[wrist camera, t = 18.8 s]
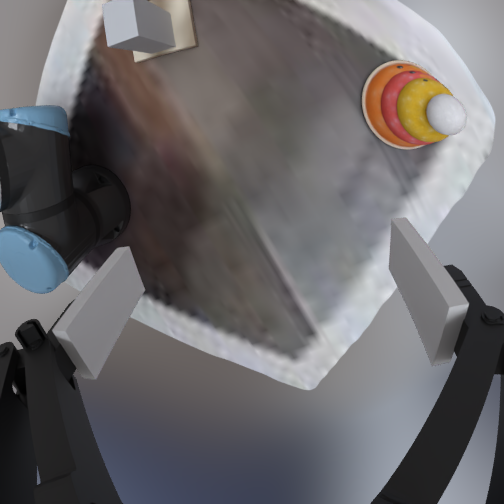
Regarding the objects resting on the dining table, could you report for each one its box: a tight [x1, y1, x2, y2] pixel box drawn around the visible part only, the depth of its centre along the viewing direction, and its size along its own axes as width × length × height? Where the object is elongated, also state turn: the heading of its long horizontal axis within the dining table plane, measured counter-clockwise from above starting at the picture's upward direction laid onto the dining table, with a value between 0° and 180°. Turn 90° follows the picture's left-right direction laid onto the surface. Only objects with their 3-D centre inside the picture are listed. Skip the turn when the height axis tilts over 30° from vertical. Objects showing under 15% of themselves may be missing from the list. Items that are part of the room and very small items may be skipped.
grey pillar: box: [102, 0, 176, 54], centre depth 33 cm, size 4×6×14 cm, turn 9°
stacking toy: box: [362, 60, 467, 149], centre depth 34 cm, size 14×14×20 cm
